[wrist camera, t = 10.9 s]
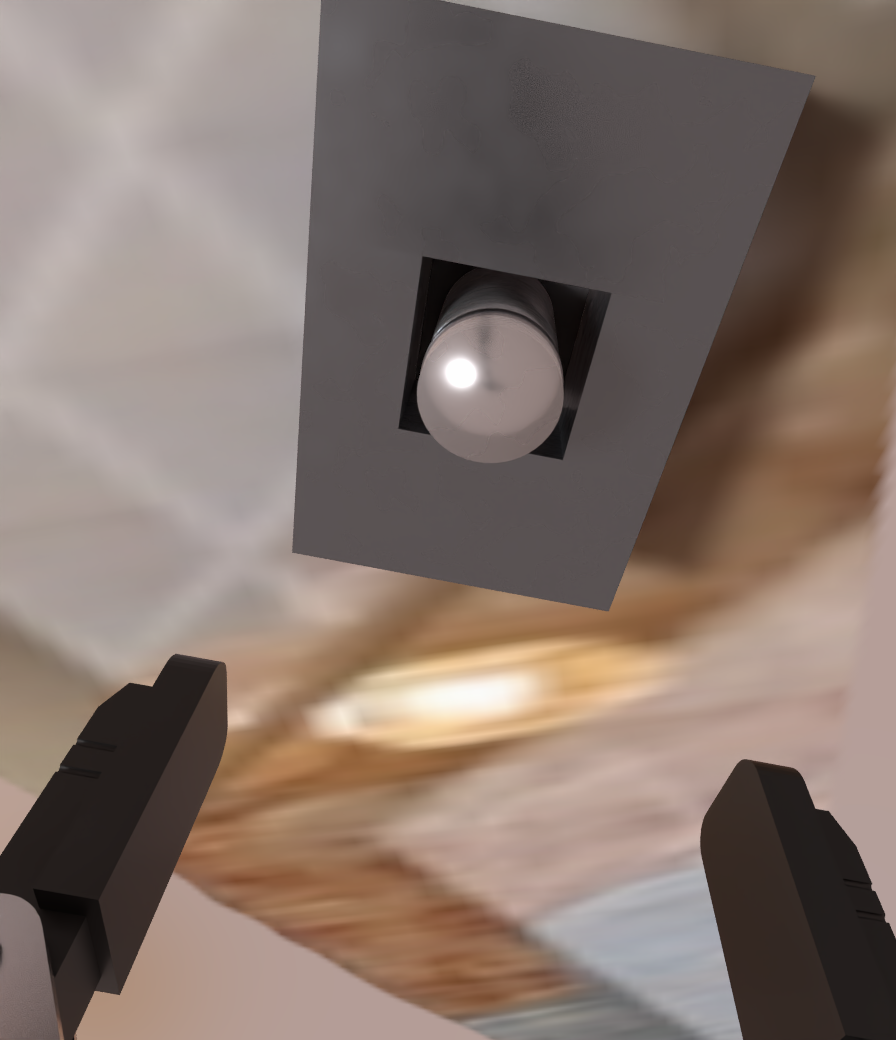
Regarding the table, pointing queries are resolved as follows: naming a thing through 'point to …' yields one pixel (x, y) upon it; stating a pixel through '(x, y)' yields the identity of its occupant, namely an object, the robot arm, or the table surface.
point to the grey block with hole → (523, 251)
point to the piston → (492, 368)
